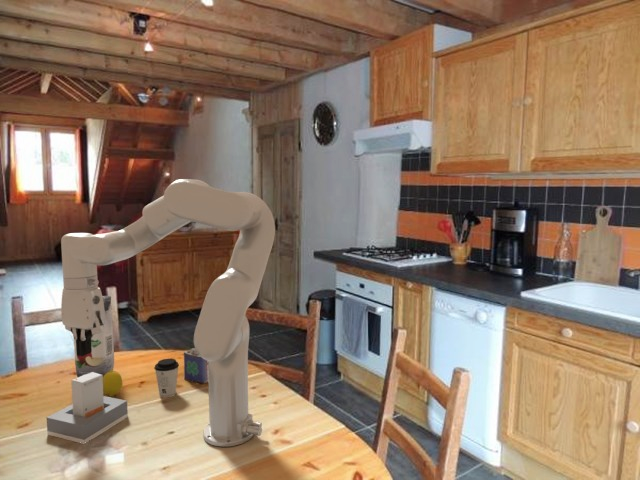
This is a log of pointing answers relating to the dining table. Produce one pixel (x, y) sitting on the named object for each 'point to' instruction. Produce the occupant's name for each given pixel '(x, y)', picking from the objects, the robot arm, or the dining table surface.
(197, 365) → the flask
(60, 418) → the socket plate
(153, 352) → the dining table surface
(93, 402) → the skincare box
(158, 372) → the coffee cup
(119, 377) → the lemon
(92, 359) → the juice carton
